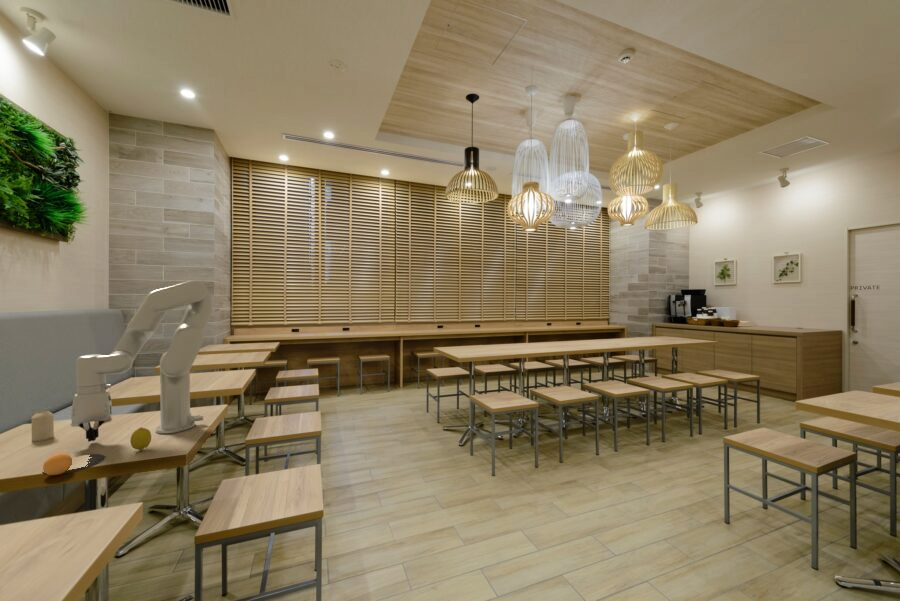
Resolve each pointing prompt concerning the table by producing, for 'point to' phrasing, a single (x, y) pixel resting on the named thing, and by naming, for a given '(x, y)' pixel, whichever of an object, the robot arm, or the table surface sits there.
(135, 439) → the lemon
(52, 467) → the ball
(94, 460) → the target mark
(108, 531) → the table surface
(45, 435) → the candle
